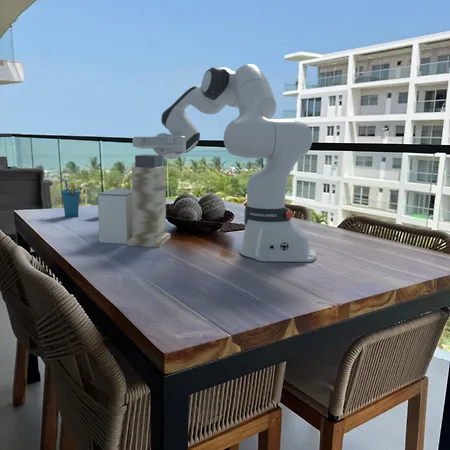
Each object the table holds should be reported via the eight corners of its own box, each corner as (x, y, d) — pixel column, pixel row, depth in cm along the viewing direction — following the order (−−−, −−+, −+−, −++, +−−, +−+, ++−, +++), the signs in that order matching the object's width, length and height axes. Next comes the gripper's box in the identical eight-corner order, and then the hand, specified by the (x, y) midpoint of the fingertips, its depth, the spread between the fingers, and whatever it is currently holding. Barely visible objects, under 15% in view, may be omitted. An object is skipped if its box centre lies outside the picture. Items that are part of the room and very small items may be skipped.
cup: (53, 214, 188) (52, 178, 185) (71, 212, 193) (70, 177, 190) (69, 219, 178) (67, 181, 175) (87, 217, 183) (86, 180, 180)
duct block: (140, 234, 156) (139, 189, 153) (126, 243, 142) (125, 194, 139) (115, 233, 157) (114, 188, 154) (99, 242, 143) (97, 193, 140)
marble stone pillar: (170, 237, 152) (170, 165, 148) (158, 247, 139) (158, 168, 134) (141, 235, 154) (140, 164, 149) (127, 245, 140) (126, 167, 135)
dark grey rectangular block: (169, 164, 154) (169, 153, 153) (154, 167, 137) (154, 156, 136) (151, 163, 154) (151, 153, 154) (135, 167, 137) (135, 155, 137)
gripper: (138, 137, 179) (126, 130, 166) (189, 136, 177) (181, 130, 163) (138, 153, 180) (126, 148, 166) (189, 152, 177) (180, 147, 163)
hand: (154, 139), depth 164 cm, fingers open, 8 cm apart
